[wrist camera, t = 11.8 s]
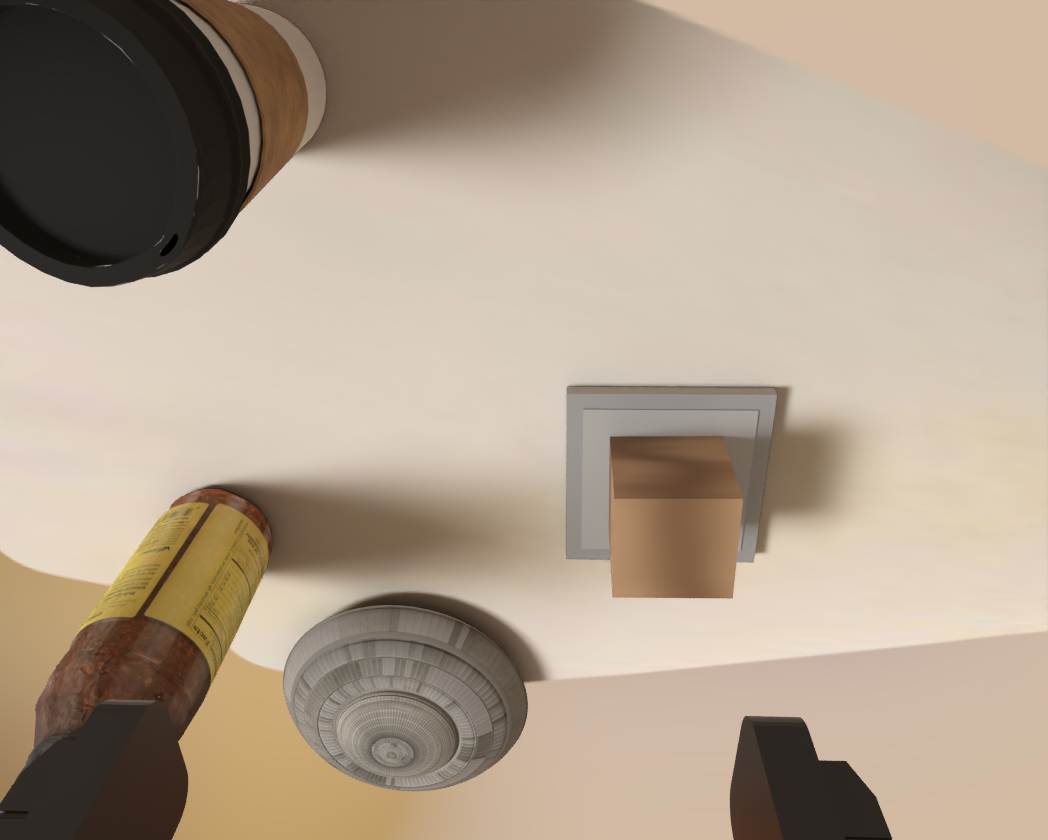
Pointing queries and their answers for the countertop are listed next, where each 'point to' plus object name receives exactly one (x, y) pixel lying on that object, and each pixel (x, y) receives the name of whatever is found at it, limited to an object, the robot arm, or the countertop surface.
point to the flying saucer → (404, 697)
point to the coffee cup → (143, 128)
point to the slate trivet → (661, 413)
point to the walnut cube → (673, 517)
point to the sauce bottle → (162, 617)
